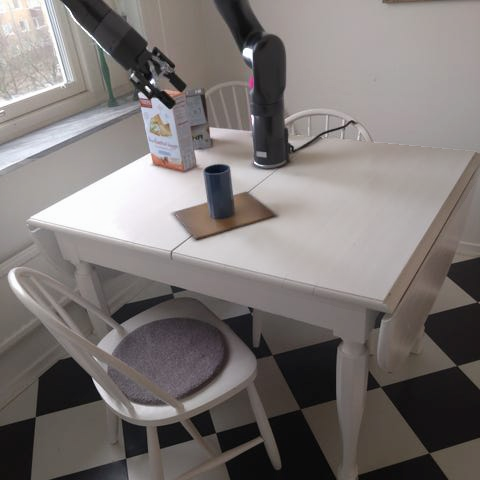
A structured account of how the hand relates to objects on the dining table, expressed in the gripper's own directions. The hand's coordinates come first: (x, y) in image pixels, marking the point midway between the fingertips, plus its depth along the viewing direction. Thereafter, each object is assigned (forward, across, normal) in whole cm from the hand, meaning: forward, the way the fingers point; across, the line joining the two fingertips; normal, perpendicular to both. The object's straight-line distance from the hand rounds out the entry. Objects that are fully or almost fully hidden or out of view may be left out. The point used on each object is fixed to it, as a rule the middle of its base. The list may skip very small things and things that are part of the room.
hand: (179, 97), depth 111 cm
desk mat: (+24, -11, +8) cm, 28 cm away
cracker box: (+13, +21, +30) cm, 39 cm away
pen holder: (+24, -11, +8) cm, 27 cm away
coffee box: (+18, +40, +30) cm, 53 cm away
